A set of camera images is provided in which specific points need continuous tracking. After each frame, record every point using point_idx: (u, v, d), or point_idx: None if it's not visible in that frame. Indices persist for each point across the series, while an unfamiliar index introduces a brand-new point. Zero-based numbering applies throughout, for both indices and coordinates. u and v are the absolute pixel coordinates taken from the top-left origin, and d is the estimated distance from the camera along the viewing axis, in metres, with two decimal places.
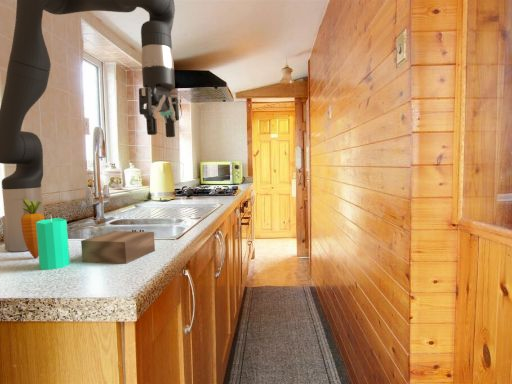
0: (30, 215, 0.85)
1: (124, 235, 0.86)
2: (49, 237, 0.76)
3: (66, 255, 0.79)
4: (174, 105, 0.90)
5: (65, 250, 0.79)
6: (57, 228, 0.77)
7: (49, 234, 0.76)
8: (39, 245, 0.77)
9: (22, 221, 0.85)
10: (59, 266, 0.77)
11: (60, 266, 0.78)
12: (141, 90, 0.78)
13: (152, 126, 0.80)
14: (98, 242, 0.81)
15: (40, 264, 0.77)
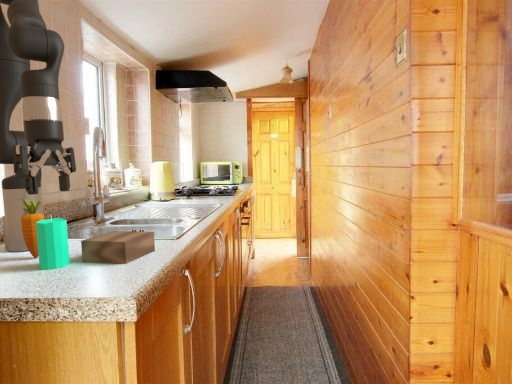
0: (30, 215, 0.85)
1: (124, 235, 0.86)
2: (49, 237, 0.76)
3: (66, 255, 0.79)
4: (69, 156, 0.83)
5: (65, 250, 0.79)
6: (57, 228, 0.77)
7: (49, 234, 0.76)
8: (39, 245, 0.77)
9: (22, 221, 0.85)
10: (59, 266, 0.77)
11: (60, 266, 0.78)
12: (15, 148, 0.71)
13: (31, 186, 0.73)
14: (98, 242, 0.81)
15: (40, 264, 0.77)
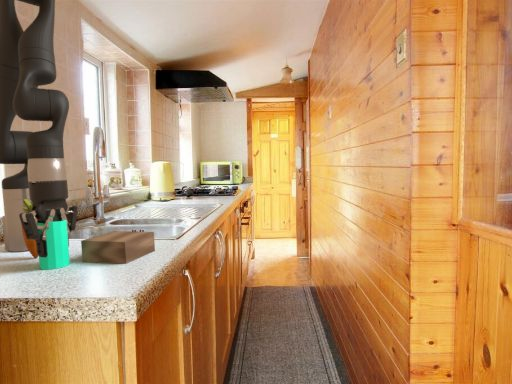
0: None
1: (124, 235, 0.86)
2: (49, 236, 0.76)
3: (66, 255, 0.79)
4: (71, 214, 0.83)
5: (65, 250, 0.79)
6: (57, 228, 0.77)
7: (49, 234, 0.76)
8: None
9: None
10: (59, 266, 0.77)
11: (60, 266, 0.78)
12: (22, 217, 0.72)
13: (42, 249, 0.76)
14: (98, 242, 0.81)
15: (40, 264, 0.77)
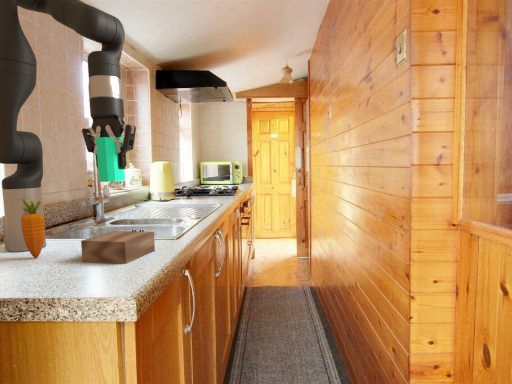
0: (30, 215, 0.85)
1: (124, 235, 0.86)
2: None
3: (105, 171, 0.81)
4: None
5: (104, 166, 0.81)
6: (98, 144, 0.81)
7: None
8: None
9: (22, 221, 0.85)
10: (100, 180, 0.82)
11: (100, 180, 0.82)
12: None
13: (97, 162, 0.84)
14: (98, 242, 0.81)
15: None
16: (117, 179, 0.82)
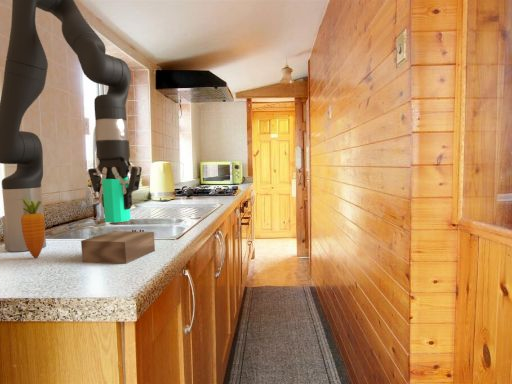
0: (30, 215, 0.85)
1: (124, 235, 0.86)
2: None
3: (111, 212, 0.83)
4: None
5: (110, 207, 0.82)
6: (104, 185, 0.83)
7: (103, 189, 0.84)
8: None
9: (22, 221, 0.85)
10: (106, 220, 0.83)
11: (106, 221, 0.83)
12: None
13: (103, 202, 0.86)
14: (98, 242, 0.81)
15: None
16: (123, 219, 0.84)
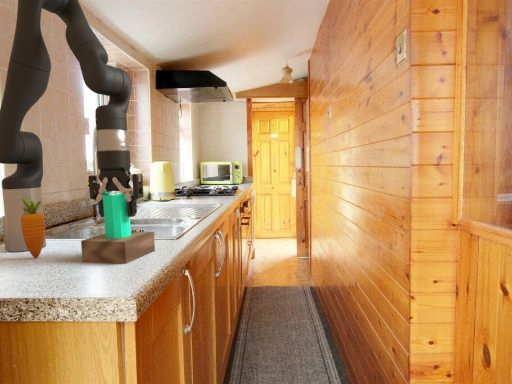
0: (30, 215, 0.85)
1: None
2: None
3: (112, 228, 0.83)
4: None
5: (111, 223, 0.83)
6: (104, 201, 0.83)
7: None
8: None
9: (22, 221, 0.85)
10: (106, 236, 0.84)
11: (107, 237, 0.84)
12: None
13: (99, 209, 0.86)
14: (98, 242, 0.81)
15: None
16: (123, 235, 0.84)
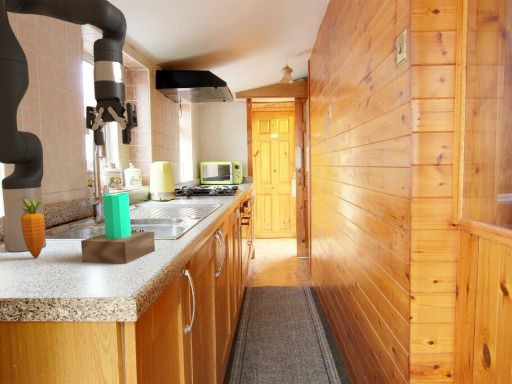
0: (30, 215, 0.85)
1: None
2: None
3: (112, 228, 0.83)
4: None
5: (111, 223, 0.83)
6: (104, 201, 0.83)
7: (103, 205, 0.84)
8: None
9: (22, 221, 0.85)
10: (106, 236, 0.84)
11: (107, 237, 0.84)
12: None
13: (94, 138, 0.92)
14: (98, 242, 0.81)
15: None
16: (123, 235, 0.84)
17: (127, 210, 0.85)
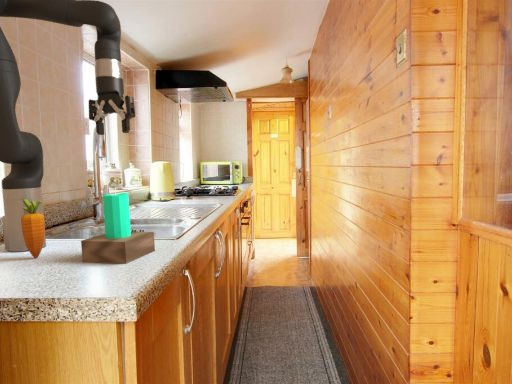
0: (30, 215, 0.85)
1: None
2: None
3: (112, 228, 0.83)
4: None
5: (111, 223, 0.83)
6: (104, 201, 0.83)
7: (103, 205, 0.84)
8: None
9: (22, 221, 0.85)
10: (106, 236, 0.84)
11: (107, 237, 0.84)
12: None
13: (97, 128, 1.03)
14: (98, 242, 0.81)
15: None
16: (123, 235, 0.84)
17: (127, 210, 0.85)
